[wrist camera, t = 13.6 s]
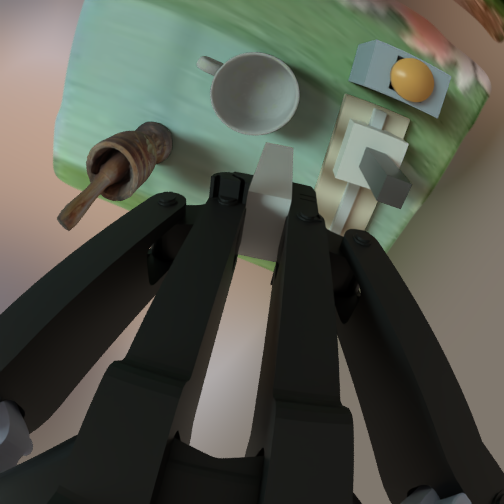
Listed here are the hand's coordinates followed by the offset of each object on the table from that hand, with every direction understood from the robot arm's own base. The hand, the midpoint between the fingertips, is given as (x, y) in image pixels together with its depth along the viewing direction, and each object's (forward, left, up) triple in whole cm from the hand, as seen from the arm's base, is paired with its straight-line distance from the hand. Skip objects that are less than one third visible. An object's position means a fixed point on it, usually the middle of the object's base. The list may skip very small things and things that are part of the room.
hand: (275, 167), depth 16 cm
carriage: (+3, +12, -26) cm, 29 cm away
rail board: (+8, +12, -28) cm, 32 cm away
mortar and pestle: (+12, -21, -28) cm, 37 cm away
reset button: (-9, +12, -24) cm, 28 cm away
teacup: (-2, -6, -28) cm, 29 cm away
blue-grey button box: (-9, +12, -28) cm, 32 cm away
